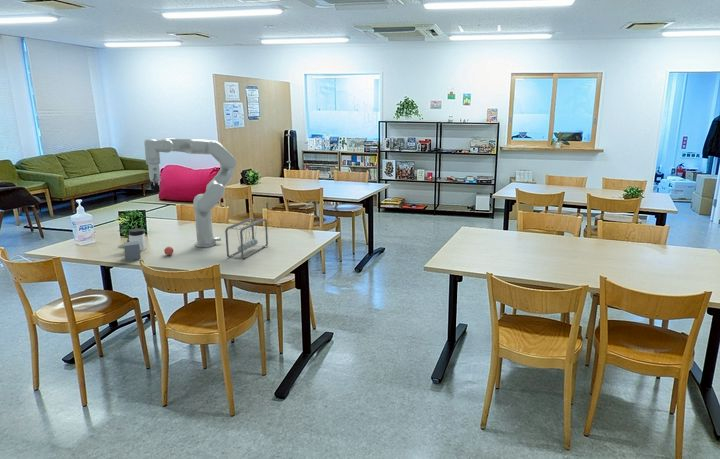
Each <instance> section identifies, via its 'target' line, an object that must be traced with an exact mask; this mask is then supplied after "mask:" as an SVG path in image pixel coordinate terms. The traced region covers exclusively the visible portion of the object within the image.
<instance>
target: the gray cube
mask: <svg viewBox="0 0 720 459" xmlns="http://www.w3.org/2000/svg"><path fill="white" fill-rule="evenodd" d="M123 244H124V247H123V248H124V250H123V251H124V257H125V262H128V260H130V261H138V259H139V260H141V259H142V258H141V257H142V256H141V251H140V246H139V241H132V242H127V241H124V242H123Z"/></svg>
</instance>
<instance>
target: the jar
mask: <svg viewBox="0 0 720 459" xmlns="http://www.w3.org/2000/svg"><path fill="white" fill-rule="evenodd" d="M128 230H129V242H132V241H139V246H140V252H141V251H145V250H146V249H147V243H146V242H147V240H146V233H145V229H144V228H140V227H139V228H132V229H128Z"/></svg>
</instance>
